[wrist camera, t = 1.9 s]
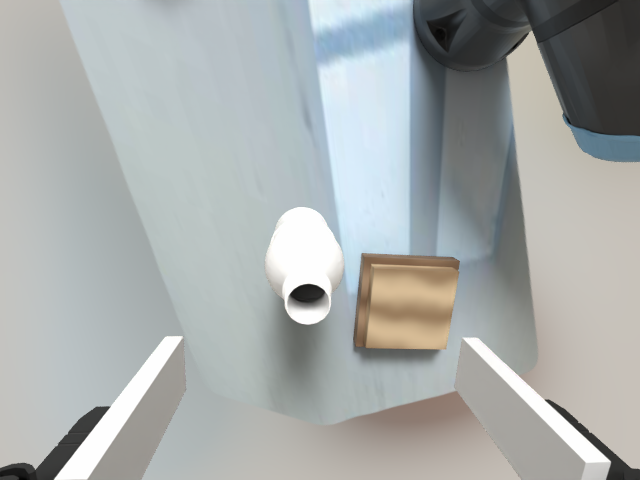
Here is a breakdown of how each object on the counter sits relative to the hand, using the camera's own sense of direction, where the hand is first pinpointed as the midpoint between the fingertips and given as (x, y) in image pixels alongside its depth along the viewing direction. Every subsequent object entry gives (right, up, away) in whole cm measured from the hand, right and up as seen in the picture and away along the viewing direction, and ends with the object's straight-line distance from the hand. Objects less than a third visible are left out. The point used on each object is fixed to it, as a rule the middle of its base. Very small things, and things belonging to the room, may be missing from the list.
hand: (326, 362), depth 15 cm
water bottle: (-3, +7, +30) cm, 31 cm away
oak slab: (+13, -4, +31) cm, 34 cm away
